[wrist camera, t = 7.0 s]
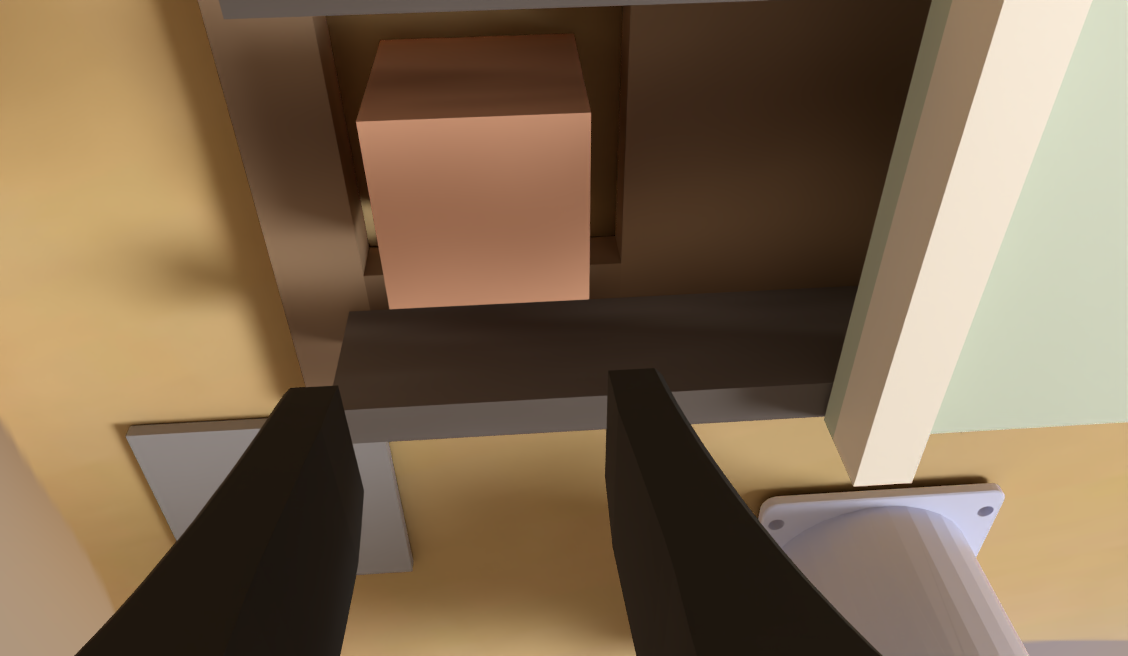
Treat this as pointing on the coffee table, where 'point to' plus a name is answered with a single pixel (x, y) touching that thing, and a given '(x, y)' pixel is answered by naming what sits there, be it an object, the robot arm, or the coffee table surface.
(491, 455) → the coffee table surface
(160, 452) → the mat
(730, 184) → the board
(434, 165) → the block
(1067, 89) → the cover
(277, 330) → the coffee table surface
